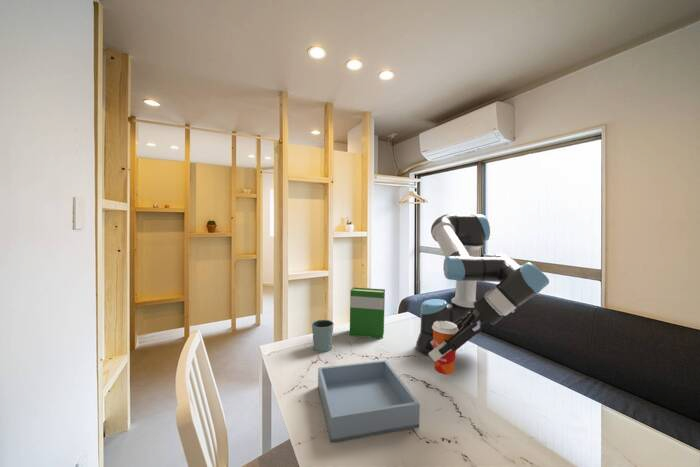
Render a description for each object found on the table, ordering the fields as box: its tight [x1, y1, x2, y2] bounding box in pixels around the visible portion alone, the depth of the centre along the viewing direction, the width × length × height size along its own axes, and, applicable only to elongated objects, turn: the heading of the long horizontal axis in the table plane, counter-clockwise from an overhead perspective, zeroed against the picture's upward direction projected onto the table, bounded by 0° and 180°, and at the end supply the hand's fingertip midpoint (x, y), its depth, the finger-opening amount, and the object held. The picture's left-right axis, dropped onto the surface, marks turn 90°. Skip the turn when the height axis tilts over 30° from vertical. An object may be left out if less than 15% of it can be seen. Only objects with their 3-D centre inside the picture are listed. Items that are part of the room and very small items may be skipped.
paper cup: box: [432, 321, 458, 376], centre depth 82 cm, size 8×8×14 cm
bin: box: [317, 359, 421, 444], centre depth 88 cm, size 26×26×7 cm
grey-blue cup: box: [311, 319, 334, 353], centre depth 128 cm, size 10×10×12 cm
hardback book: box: [349, 287, 386, 339], centre depth 146 cm, size 18×7×24 cm, turn 79°
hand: (432, 351), depth 84 cm, fingers closed on paper cup, 8 cm apart
